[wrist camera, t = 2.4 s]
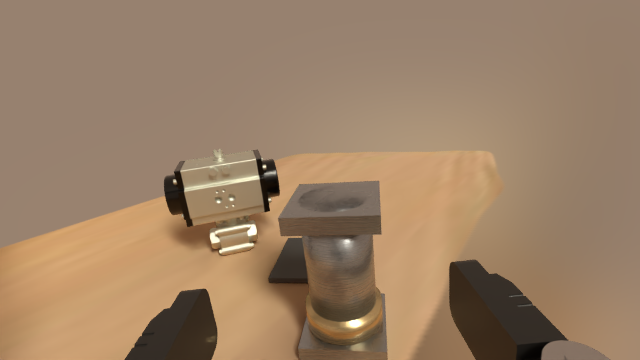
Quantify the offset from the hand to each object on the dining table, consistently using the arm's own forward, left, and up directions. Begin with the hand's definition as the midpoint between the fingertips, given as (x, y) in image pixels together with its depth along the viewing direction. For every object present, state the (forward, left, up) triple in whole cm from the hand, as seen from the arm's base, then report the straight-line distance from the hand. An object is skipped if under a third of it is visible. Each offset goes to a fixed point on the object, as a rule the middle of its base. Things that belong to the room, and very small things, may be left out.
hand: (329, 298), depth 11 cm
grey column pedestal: (-1, +11, -12) cm, 17 cm away
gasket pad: (-5, +21, -12) cm, 25 cm away
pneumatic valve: (-15, +24, -12) cm, 31 cm away
